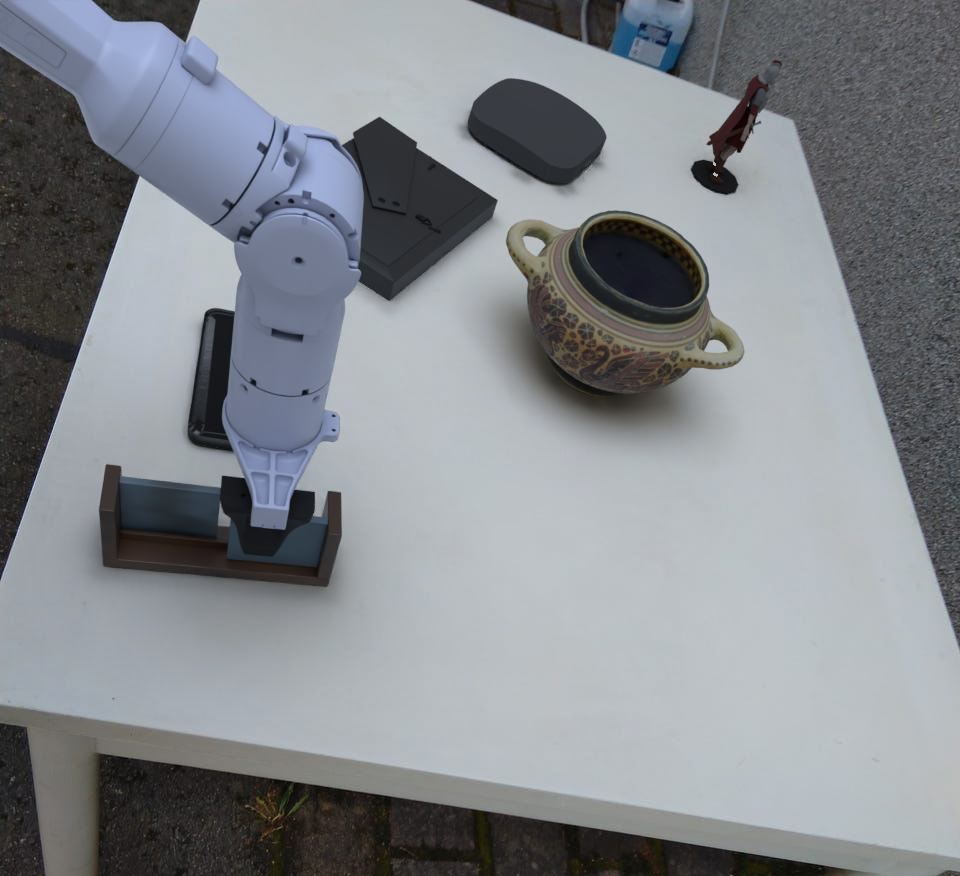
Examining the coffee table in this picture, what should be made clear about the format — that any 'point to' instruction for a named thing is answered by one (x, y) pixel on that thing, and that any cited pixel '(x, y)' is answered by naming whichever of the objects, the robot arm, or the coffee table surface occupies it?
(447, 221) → the picture frame
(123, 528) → the window frame
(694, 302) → the ceramic bowl
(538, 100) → the media streaming box
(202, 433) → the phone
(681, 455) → the coffee table surface
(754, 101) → the figurine
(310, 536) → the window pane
